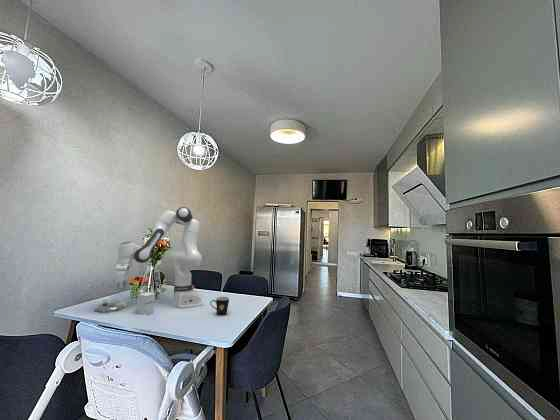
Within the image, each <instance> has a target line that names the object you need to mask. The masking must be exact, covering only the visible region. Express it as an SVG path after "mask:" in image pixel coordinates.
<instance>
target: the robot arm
mask: <svg viewBox="0 0 560 420" xmlns="http://www.w3.org/2000/svg"><path fill="white" fill-rule="evenodd" d="M193 218H194V217H193V215H192V211H191V210H190V209H189V208H188V207H185V206H181V207H179V208H178V209H177V210H176V211H172V210H165V211H164V212H163V213H162V214H161V215H160V216H159V217H158V218H157V219H156V220H155V221H154V224H153V225H152V229H151V230H152V231H151V232H152V233H151V236H150V237H149V239H148V240H147V241H146V242H145V244H144V245H143V246H142V245H138V244H136V243H135V242H134V241H125V242H121V243H120V244H119V247H118V249H117V260H116V266H115V271H116V273H115V281H116V284H117V283H120V288H122V287H123V282H127V279H128V278H129V276H130V269H133V268H132V267H133V261H135V262H137V263H139V264H144V263H147V262H149V260H150V259H151V257H152V254H153V251H154V249H155V248H156V246H157V245H158V243H159V242H160V240H161V239H162V238H163V237H164V236H165V234H167V232H169V230H170V229H171V228H172V226H173V225H174V224H178V225H182V226H184V229H183V232H182V237H181V241H180V242H181V244H182V245H183V246H184V247H185V250H180V249H179V250H178V249H177V250H173V251H171V252H170V253H169V254H168V257H167V259H168V262H169V263H170V264H171V266H172V267H173V270H174V274H175V276H174V277H175V279H174V286H173V296H172V297H173V298H172V300H171V304H170V306H171V307H173V308H179V309H185V308H192V307H200V306H203V305H204V300H203V299H201V294H200V293H199V292H198V291H196V290H195V285H194V284H192V272H191V271H189V269H188V267H197V266H199V265H200V264H201V262H202V260H203V257H202V254H201V253H200V252H199V250H198V247H197V244H198V238H199V233H200V221H198V220H197V219H193Z"/></svg>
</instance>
